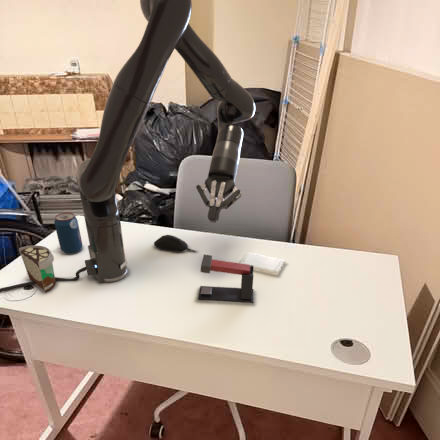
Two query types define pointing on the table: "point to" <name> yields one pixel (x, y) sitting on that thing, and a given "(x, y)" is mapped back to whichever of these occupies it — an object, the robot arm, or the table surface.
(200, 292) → the stapler base
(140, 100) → the robot arm
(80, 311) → the table surface
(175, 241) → the gaming mouse
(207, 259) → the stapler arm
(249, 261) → the hard drive
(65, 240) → the soda can
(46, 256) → the food container
